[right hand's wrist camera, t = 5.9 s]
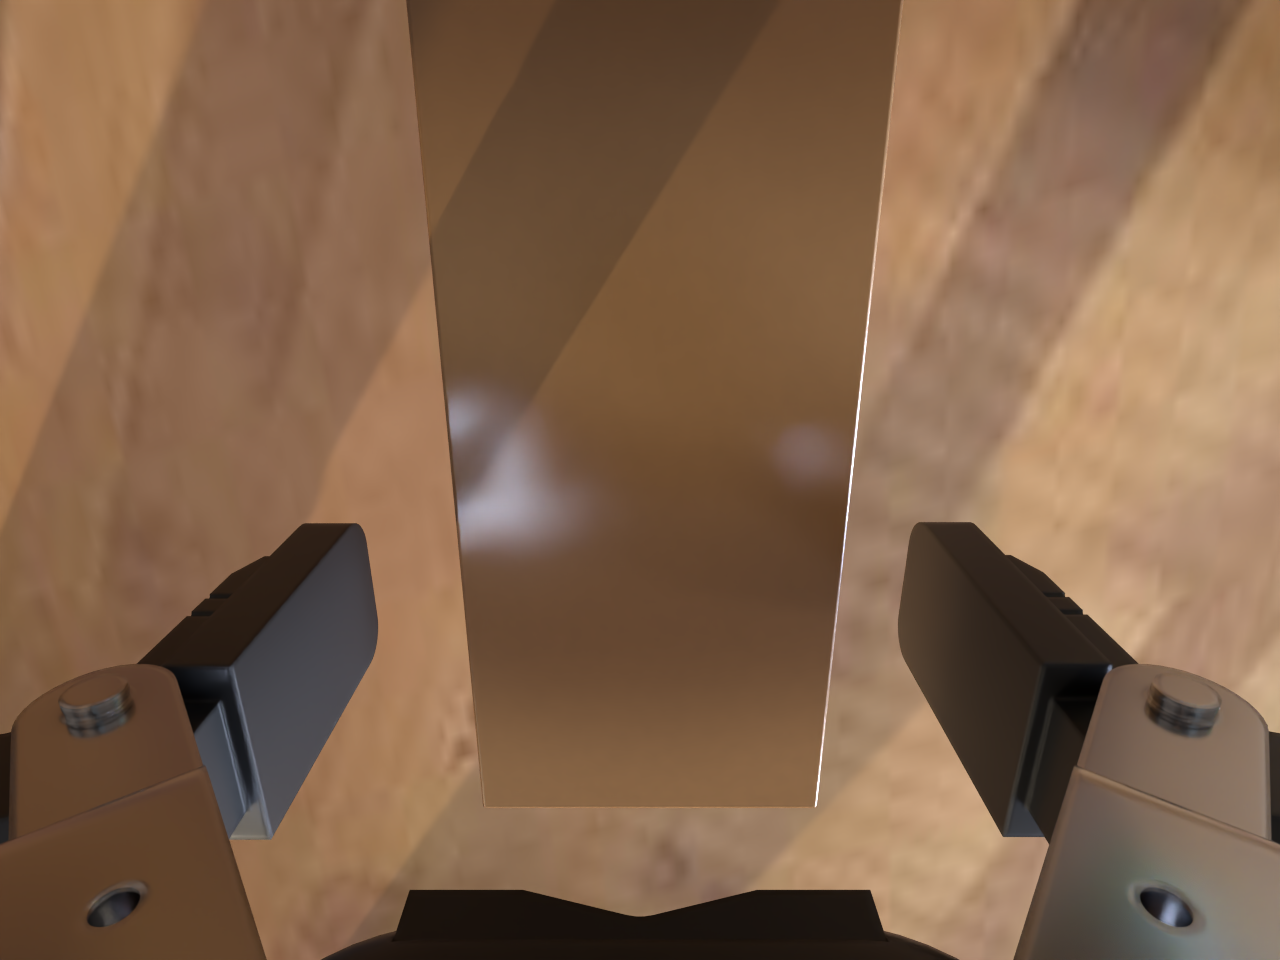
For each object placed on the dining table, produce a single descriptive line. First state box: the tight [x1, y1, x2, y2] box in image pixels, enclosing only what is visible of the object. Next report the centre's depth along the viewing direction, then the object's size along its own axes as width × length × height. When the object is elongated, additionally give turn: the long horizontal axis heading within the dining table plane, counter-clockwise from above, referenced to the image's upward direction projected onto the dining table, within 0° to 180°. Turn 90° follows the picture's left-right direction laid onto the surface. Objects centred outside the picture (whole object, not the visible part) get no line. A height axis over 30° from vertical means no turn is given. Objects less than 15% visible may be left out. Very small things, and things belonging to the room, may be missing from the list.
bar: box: [406, 0, 903, 808], centre depth 12 cm, size 25×6×9 cm, turn 0°
